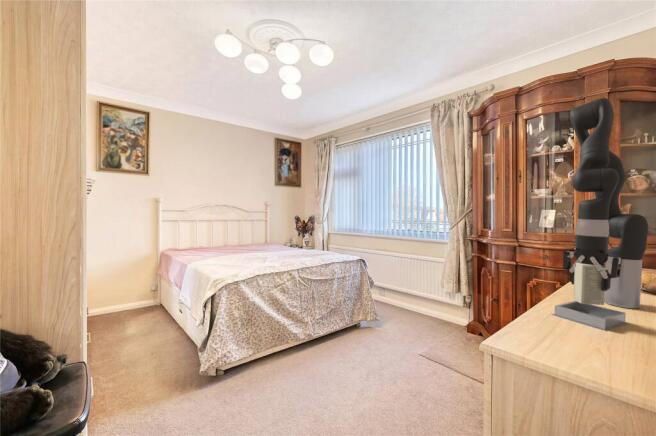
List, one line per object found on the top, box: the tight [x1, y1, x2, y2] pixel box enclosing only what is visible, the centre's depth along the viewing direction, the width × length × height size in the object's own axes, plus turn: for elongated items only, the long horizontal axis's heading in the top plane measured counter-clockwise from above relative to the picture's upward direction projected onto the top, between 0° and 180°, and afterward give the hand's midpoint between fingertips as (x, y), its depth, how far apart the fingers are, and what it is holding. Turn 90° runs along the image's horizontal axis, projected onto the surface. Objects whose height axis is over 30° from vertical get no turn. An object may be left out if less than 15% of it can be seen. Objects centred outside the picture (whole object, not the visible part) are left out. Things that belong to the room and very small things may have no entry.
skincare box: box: [572, 263, 606, 306], centre depth 91 cm, size 6×4×12 cm
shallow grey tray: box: [553, 300, 627, 331], centre depth 92 cm, size 13×13×3 cm
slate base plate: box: [550, 310, 630, 332], centre depth 92 cm, size 14×14×1 cm
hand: (588, 287), depth 92 cm, fingers closed on skincare box, 7 cm apart
